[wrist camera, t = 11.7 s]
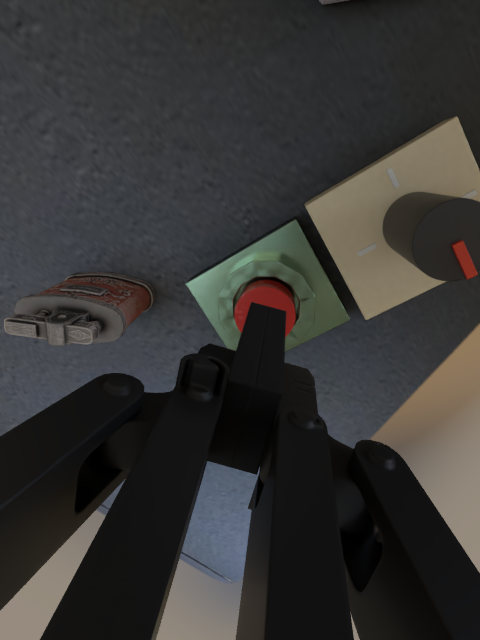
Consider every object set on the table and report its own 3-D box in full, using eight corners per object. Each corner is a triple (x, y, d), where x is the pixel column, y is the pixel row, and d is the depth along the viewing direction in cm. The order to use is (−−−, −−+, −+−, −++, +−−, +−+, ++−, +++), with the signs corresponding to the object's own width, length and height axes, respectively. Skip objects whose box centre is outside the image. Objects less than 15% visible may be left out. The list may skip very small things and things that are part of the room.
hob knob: (371, 212, 28) (399, 227, 21) (432, 179, 27) (484, 181, 20) (397, 266, 29) (433, 297, 22) (457, 235, 28) (515, 257, 21)
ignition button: (277, 268, 29) (276, 275, 28) (305, 318, 31) (306, 327, 29) (226, 296, 31) (222, 304, 29) (255, 343, 32) (253, 354, 30)
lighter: (155, 278, 35) (106, 316, 25) (155, 314, 36) (108, 364, 26) (66, 267, 35) (-14, 301, 26) (69, 304, 36) (-7, 349, 27)
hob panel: (443, 120, 28) (458, 115, 26) (495, 244, 31) (513, 250, 28) (303, 203, 31) (304, 206, 29) (360, 310, 34) (366, 321, 31)
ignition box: (295, 216, 32) (296, 221, 28) (347, 310, 34) (354, 328, 30) (191, 277, 34) (179, 290, 31) (245, 361, 36) (240, 383, 33)
